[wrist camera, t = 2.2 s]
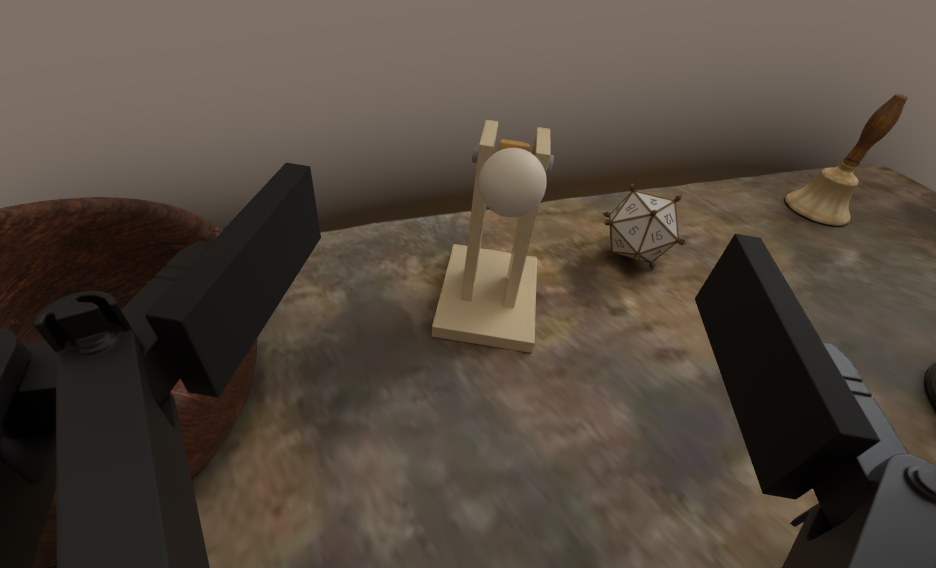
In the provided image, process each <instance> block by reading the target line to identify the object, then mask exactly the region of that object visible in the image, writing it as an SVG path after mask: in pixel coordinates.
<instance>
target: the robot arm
mask: <svg viewBox="0 0 936 568" xmlns="http://www.w3.org/2000/svg"><path fill="white" fill-rule="evenodd" d="M320 238H321V235H320V229H319V222H318V215H317V209H316V203H315V196H314V189H313V182H312V176H311V169H310V166H304V165H298V164H291V163H285V164H284V165H283V167H282V168H281V169H280V170H279V171H278V172H277V173H276V174H275V175H274V176H273V177H272V178H271V179H270V180H269V182H268V183H267V184H266V185H265V186H264V187H263V188H262V189H261V190H260V191H259V192H258V194H256V196H255V197H254V198H253V199H252V200H251V201H250V202H249V203H248V204H247V205H246V206H245V207H244V208H243V210H242V211H241V212H240V213H239V214H238V215H237V216H236V217H235V218H234V219H233V220H232V221H231V223H230V224H229V225H228V226H227V227H226V228H225V229H224V230H223V231H222V232H221V233H220V234H219V235H218V236H217V237H216V239H215V240H214V241H213V242H212V243H210V242H203V241H197V242H195V243H194V244H192V245H190V246H188V247H186V248H185V249H183V250H181V251H179V252H178V253H177V254H176V255H175V256H174V257H173V258H172V259H171V260H170V261H169V262H168V263H167V264H166V265H167V266H166V267H163V268H162V269H161V270H160V271H159V272H158V273H157V274H156V277H155V278H152V279H151V280H150V281H149V282H148V283H147V284H146V285H145V286H144V287H143V288H142V289H141V290H140V291H139V292H138V294H137V295H136V296H135V297H134V298H133V299H132V300H131V301H130V302H129V303H128V304H127V305H126V306H125V307H124V308H123V309H122V310H121V309H120V307H119V306H118V304H117V302H116V301H115V299H114V297H113V296H112V295H110V294H107V293H105V292H102V291H85V292H78V293H74V294H71V295H68V296H65V297H63V298H60V299H58V300H56V301H55V302H53V303H51V304H50V305H48V306H46V307H45V308H44V309H43V310H42V311H41V312H40V313H39V314H38V315H37V317H36V320H35V323H34V325H33V326H34V327H35V328H36V329H37V331H38V332H39V333H40V334H41V335H42V337H43V338H44V339H45V340H46V341H41V342H30V343H22V342H21V341H20V340H19V339H18V337H17V336H16V335H15V334H14V333H13V332H12V331H11V330H7V329H4V328H0V568H32V567H33V563H34V560H35V557H36V554H37V550H38V547H39V544H40V540H41V537H42V534H43V530H44V527H45V524H46V521H47V517H48V514H49V511H50V507H51V504H52V501H53V497H54V494H55V491H56V489H57V568H210V567H209V562H208V557H207V553H206V548H205V543H204V538H203V533H202V528H201V524H200V519H199V514H198V509H197V504H196V499H195V494H194V490H193V485H192V480H191V475H190V470H189V465H188V461H187V456H186V451H185V446H184V441H183V436H182V432H181V427H180V422H179V417H178V412H177V407H176V402H175V398H174V397H173V395H172V393H171V390H172V389H173V388H174V386H175V385H176V384H177V382H178V381H179V380H180V379H181V381H182V382H183V384H184V386H185V388H186V390H187V391H188V393H193V394H199V395H205V396H210V397H216V398H219V397H220V395H221V394H222V392H223V390H224V389H225V387H226V386H227V384H228V383H229V381H230V379H231V378H232V376H233V375H234V373H235V372H236V370H237V368H238V367H239V365H240V364H241V362H242V361H243V359H244V357H245V356H246V354H247V353H248V351H249V350H250V348H251V347H252V345H253V343H254V342H255V340H256V339H257V337H258V336H259V334H260V332H261V331H262V329H263V328H264V326H265V325H266V323H267V321H268V320H269V318H270V317H271V315H272V314H273V312H274V310H275V309H276V307H277V306H278V304H279V303H280V301H281V299H282V298H283V296H284V295H285V293H286V292H287V290H288V288H289V287H290V285H291V284H292V282H293V281H294V279H295V277H296V276H297V274H298V273H299V271H300V270H301V268H302V266H303V265H304V263H305V262H306V260H307V259H308V257H309V255H310V254H311V252H312V251H313V249H314V248H315V246H316V245H317V243H318V241H319V240H320ZM695 301H696V304H697V307H698V310H699V312H700V315H701V318H702V321H703V324H704V327H705V330H706V332H707V335H708V338H709V341H710V344H711V347H712V350H713V352H714V355H715V358H716V361H717V364H718V367H719V370H720V373H721V375H722V378H723V381H724V384H725V387H726V390H727V393H728V395H729V398H730V401H731V404H732V407H733V410H734V413H735V415H736V418H737V421H738V424H739V427H740V430H741V433H742V435H743V438H744V441H745V444H746V447H747V450H748V453H749V455H750V458H751V461H752V464H753V467H754V470H755V473H756V475H757V478H758V481H759V484H760V487H761V490H762V493H763V494H768V495H773V496H779V497H785V498H790V499H797V498H799V497H800V496H802V495H803V494H805V493H806V492H807V491H809V490H810V489H812V488H813V490H814V492H815V495H816V497H817V499H818V501H819V503H818V504H816V505H815V506H813V507H812V508H810V509H809V510H807V511H806V512H804V513H802V514H801V515H799V516H798V517H796V518H795V519H794V520H793V521H792V522H791V523H790V524H792V525H793V526H794V527H796V526H797V525H799V524H801V523H802V522H804V524H803V526H802V528H801V530H800V532H799V534H798V536H797V538H796V540H795V542H794V544H793V546H792V548H791V551H790V553H789V555H788V557H787V559H786V561H785V563H784V565H783V567H782V568H936V466H935V465H934V464H932V463H930V462H928V461H926V460H924V459H922V458H920V457H918V456H914V455H911V454H909V453H908V451H907V449H906V448H905V446H904V445H903V443H902V441H901V440H900V438H899V437H898V435H897V434H896V432H895V430H894V429H893V427H892V426H891V424H890V422H889V421H888V419H887V418H886V416H885V414H884V413H883V411H882V410H881V408H880V406H879V405H878V403H877V402H876V400H875V399H874V398H872V397H871V395H872V394H871V392H870V391H869V389H868V387H867V386H866V384H865V383H862V380H863V379H862V378H861V376H860V375H859V373H858V372H857V370H856V368H855V367H854V365H853V364H852V362H851V361H850V360H849V359H848V358H847V357H846V356H845V355H844V354H843V353H842V352H841V351H840V350H839V349H837V348H836V347H835V346H834V345H833V344H828V343H823V342H822V341H821V339H820V337H819V336H818V334H817V332H816V331H815V329H814V327H813V326H812V324H811V322H810V320H809V319H808V317H807V315H806V314H805V312H804V310H803V309H802V307H801V305H800V304H799V302H798V300H797V299H796V297H795V295H794V293H793V292H792V290H791V288H790V287H789V285H788V283H787V282H786V280H785V278H784V277H783V275H782V273H781V272H780V270H779V268H778V267H777V265H776V263H775V261H774V260H773V258H772V256H771V255H770V253H769V251H768V250H767V248H766V246H765V245H764V243H763V241H762V240H761V238H758V237H751V236H745V235H739V234H735V235H734V236H733V238H732V240H731V241H730V243H729V244H728V246H727V248H726V249H725V251H724V252H723V254H722V256H721V257H720V259H719V261H718V262H717V264H716V265H715V267H714V269H713V270H712V272H711V273H710V275H709V277H708V278H707V280H706V281H705V283H704V285H703V286H702V288H701V290H700V291H699V293H698V294H697V296H696V298H695ZM926 386H927V389H928V393H929V395H930V398H931V400H932V401H933V403H934V405H935V407H936V362H935V363H934V364H933V365H932V366H931V367H930V368H929V370H928V371H927V375H926Z"/></svg>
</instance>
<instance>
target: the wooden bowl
mask: <svg viewBox="0 0 936 568" xmlns="http://www.w3.org/2000/svg"><path fill="white" fill-rule="evenodd" d="M222 231H223V230H222V229H221V228H219V227H218V226H217V225H215V224H214V223H212V222H211V221H209V220H207V219H206V218H204V217H202V216H199V215H197V214H195V213H193V212H190V211H187V210H184V209H182V208H178V207H175V206H171V205H167V204H163V203H157V202H152V201H146V200H138V199H127V198H109V197H107V198H106V197H91V198H70V199H58V200H49V201H40V202H34V203H27V204H20V205H15V206H10V207H4V208H0V328H4V329H7V330H11V331H12V332H13V333H14V334H15V335H16V336H17V337H18V339H19V340H20V341H21V342H22V343H30V342H41V341H46V340H45V339H44V338H43V337H42V335H41V334H40V333H39V332H38V331H37V329H36V328H35V327H34V326H33V325H34V323H35V320H36V317H37V315H38V314H39V313H40V312H41V311H42V310H43V309H44V308H45V307H46V306H48V305H50V304H51V303H53V302H55V301H56V300H58V299H60V298H63V297H65V296H68V295H71V294H74V293H78V292H85V291H102V292H105V293H107V294H110V295H112V296H113V297H114V299H115V301H116V302H117V304H118V306H119V307H120V309H121V310H122V309H123V308H124V307H125V306H126V305H127V304H128V303H129V302H130V301H131V300H132V299H133V298H134V297H135V296H136V295H137V294H138V292H139V291H140V290H141V289H142V288H143V287H144V286H145V285H146V284H147V283H148V282H149V281H150V280H151V279H152V278H155V277H156V274H157V273H158V272H159V271H160V270H161V269H162V268H163V267H166V266H167V265H166V264H167V263H168V262H169V261H170V260H171V259H172V258H173V257H174V256H175V255H176V254H177V253H178V252H179V251H181V250H183V249H185V248H186V247H188V246H190V245H192V244H194V243H195V242H197V241H203V242H210V243H212V242H213V241H214V240H215V239H216V237H217V236H218V235H219V234H220V233H221V232H222ZM256 355H257V339H256V340H255V342H254V343H253V345H252V347H251V348H250V350H249V351H248V353H247V354H246V356H245V357H244V359H243V361H242V362H241V364H240V365H239V367H238V368H237V370H236V372H235V373H234V375H233V376H232V378H231V379H230V381H229V383H228V384H227V386H226V387H225V389H224V390H223V392H222V394H221V395H220V397H219V398H216V397H210V396H205V395H199V394H193V393H188V391H187V390H186V388H185V386H184V384H183V382H182V381H181V379H180V380H179V381H178V382H177V384H176V385H175V386H174V388H173V389H172V390H171V393H172V395H173V397H174V398H175V402H176V407H177V412H178V417H179V422H180V427H181V432H182V436H183V441H184V446H185V451H186V456H187V461H188V465H189V470H190V475H191V479H192V478H194V477H195V476H196V474H197V473H198V472H199V471H200V470H201V469H202V468H203V467H204V466H205V464H206V463H207V462H208V461H209V460H210V459H211V458H212V456H213V455H214V454H215V452H216V451H217V450H218V448H219V447H220V446H221V444H222V443H223V442H224V440H225V438H226V437H227V435H228V434H229V432H230V431H231V429H232V427H233V425H234V424H235V422H236V420H237V418H238V416H239V414H240V412H241V409H242V407H243V405H244V402H245V400H246V397H247V395H248V392H249V389H250V385H251V382H252V378H253V373H254V368H255V362H256ZM56 564H57V489H56V491H55V494H54V497H53V501H52V504H51V507H50V511H49V514H48V517H47V521H46V524H45V527H44V530H43V534H42V537H41V540H40V544H39V547H38V550H37V554H36V557H35V560H34V563H33V567H32V568H47V567H50V566H53V565H56Z"/></svg>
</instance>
